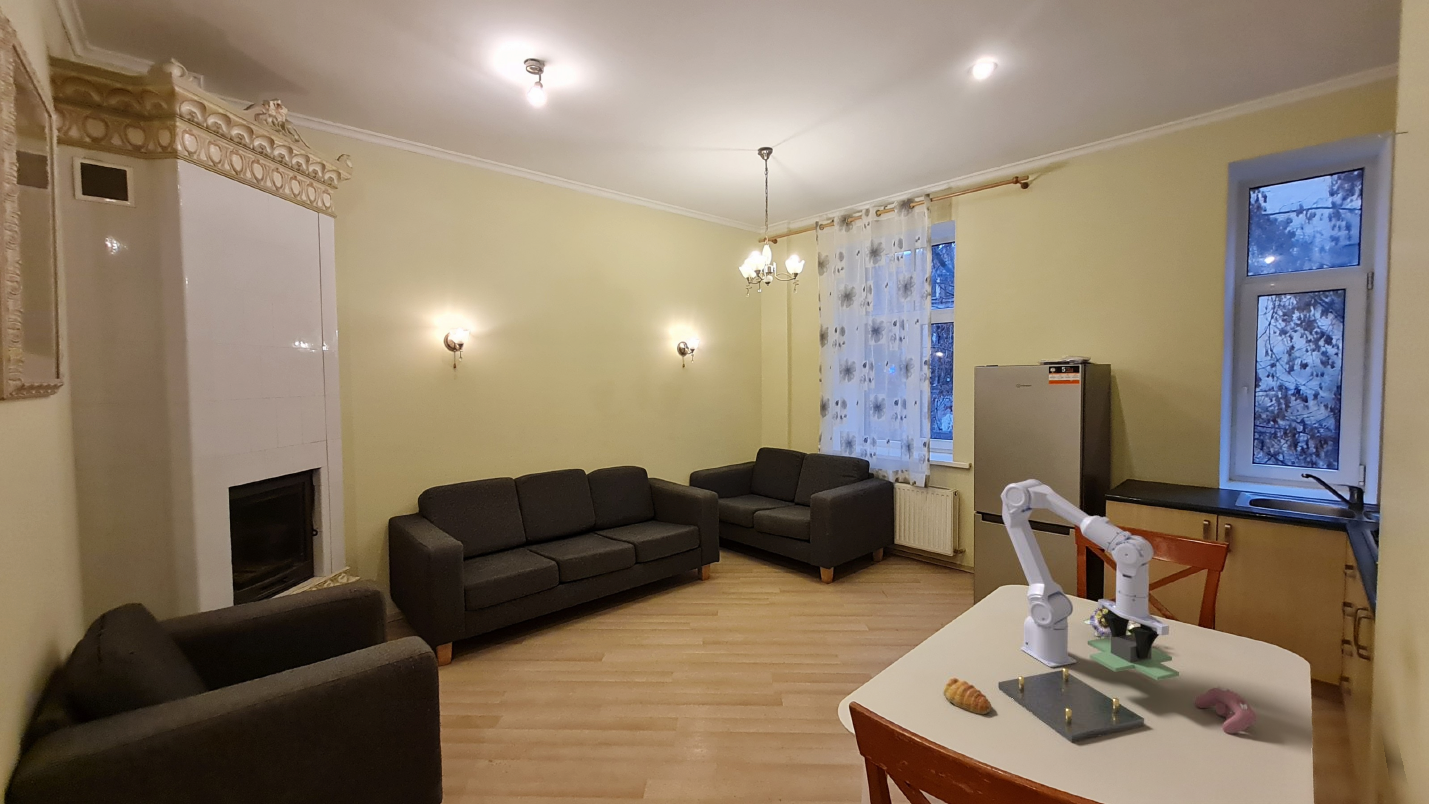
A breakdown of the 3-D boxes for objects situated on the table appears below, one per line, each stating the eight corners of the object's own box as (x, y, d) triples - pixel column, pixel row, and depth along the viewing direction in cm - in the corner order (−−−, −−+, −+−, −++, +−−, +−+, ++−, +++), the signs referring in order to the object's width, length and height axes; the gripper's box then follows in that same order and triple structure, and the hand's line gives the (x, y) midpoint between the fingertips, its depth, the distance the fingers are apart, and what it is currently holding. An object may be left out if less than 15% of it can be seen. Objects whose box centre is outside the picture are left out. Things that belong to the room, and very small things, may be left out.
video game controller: (1247, 744, 108) (1267, 714, 107) (1223, 732, 108) (1242, 702, 107) (1211, 713, 117) (1229, 686, 116) (1190, 702, 118) (1207, 675, 117)
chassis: (998, 688, 125) (998, 671, 125) (1063, 676, 130) (1063, 659, 130) (1071, 742, 107) (1071, 722, 107) (1143, 725, 111) (1144, 706, 111)
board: (1070, 647, 129) (1070, 629, 129) (1123, 637, 133) (1124, 620, 133) (1138, 684, 114) (1139, 664, 114) (1196, 672, 118) (1197, 652, 118)
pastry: (997, 709, 118) (997, 691, 118) (980, 721, 115) (980, 703, 114) (957, 688, 126) (957, 672, 126) (939, 699, 122) (939, 682, 122)
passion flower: (1103, 663, 145) (1072, 618, 150) (1125, 645, 150) (1094, 602, 155) (1142, 656, 136) (1108, 609, 141) (1164, 637, 141) (1130, 592, 146)
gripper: (1180, 603, 117) (1179, 665, 117) (1115, 578, 131) (1114, 634, 131) (1154, 607, 115) (1153, 671, 116) (1091, 582, 129) (1090, 639, 130)
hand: (1130, 652), depth 123 cm, fingers closed on board, 4 cm apart
